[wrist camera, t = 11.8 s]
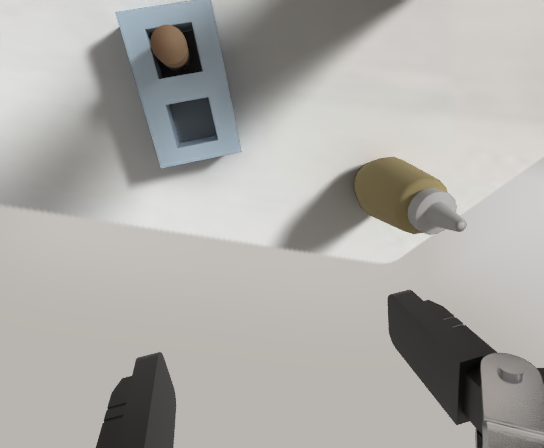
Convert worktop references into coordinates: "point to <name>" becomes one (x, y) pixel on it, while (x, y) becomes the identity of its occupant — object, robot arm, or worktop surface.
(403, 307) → the robot arm
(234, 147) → the socket block
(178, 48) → the dowel
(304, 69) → the worktop surface
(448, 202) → the squeeze bottle
